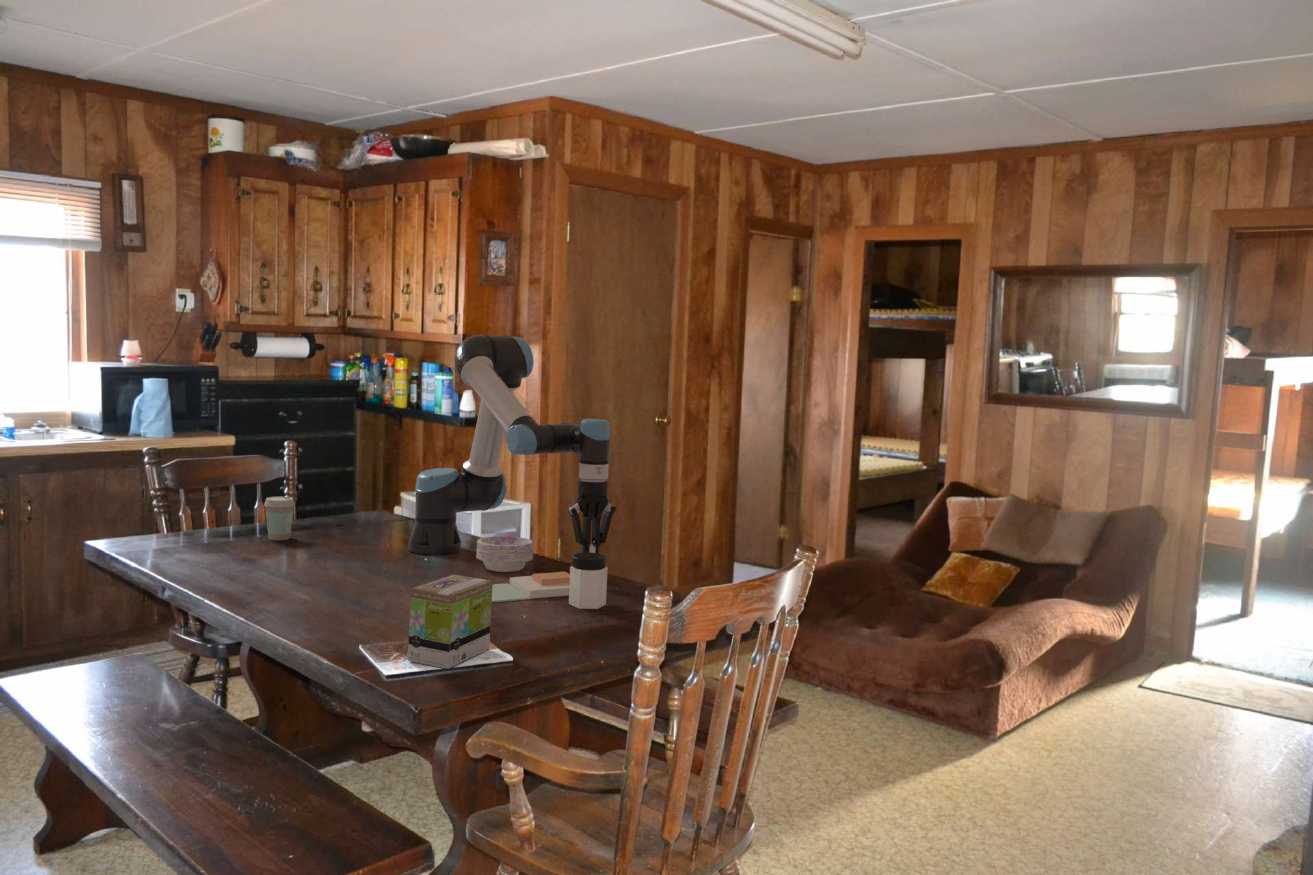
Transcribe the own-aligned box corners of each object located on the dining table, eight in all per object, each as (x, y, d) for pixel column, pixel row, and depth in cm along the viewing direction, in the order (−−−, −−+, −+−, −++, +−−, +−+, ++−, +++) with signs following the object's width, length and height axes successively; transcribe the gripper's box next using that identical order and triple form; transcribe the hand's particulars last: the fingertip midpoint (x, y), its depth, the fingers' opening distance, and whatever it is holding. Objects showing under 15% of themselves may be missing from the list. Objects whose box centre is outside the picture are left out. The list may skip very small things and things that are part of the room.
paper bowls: (515, 560, 292) (516, 532, 291) (542, 572, 280) (543, 543, 279) (466, 565, 283) (467, 537, 282) (492, 577, 270) (493, 548, 270)
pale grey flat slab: (509, 585, 263) (509, 577, 263) (567, 580, 271) (567, 573, 271) (529, 598, 251) (530, 590, 251) (589, 593, 259) (589, 585, 259)
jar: (580, 598, 254) (582, 550, 253) (610, 603, 251) (612, 554, 250) (563, 606, 246) (565, 557, 244) (594, 611, 243) (596, 561, 241)
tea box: (450, 670, 197) (452, 594, 195) (406, 662, 200) (408, 587, 199) (491, 649, 211) (493, 578, 209) (449, 642, 214) (451, 572, 213)
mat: (450, 589, 257) (450, 587, 256) (507, 584, 264) (507, 583, 264) (469, 604, 243) (469, 602, 243) (529, 599, 251) (529, 597, 251)
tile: (532, 579, 262) (532, 573, 262) (564, 577, 266) (565, 571, 266) (541, 585, 257) (541, 579, 257) (574, 582, 261) (574, 576, 261)
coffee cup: (288, 542, 301) (288, 501, 300) (259, 540, 301) (259, 500, 300) (298, 536, 309) (299, 496, 308) (270, 534, 309) (270, 495, 308)
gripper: (576, 482, 257) (572, 575, 259) (622, 481, 263) (618, 571, 266) (564, 478, 264) (560, 568, 266) (609, 477, 270) (606, 565, 272)
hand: (589, 570), depth 266 cm, fingers closed
